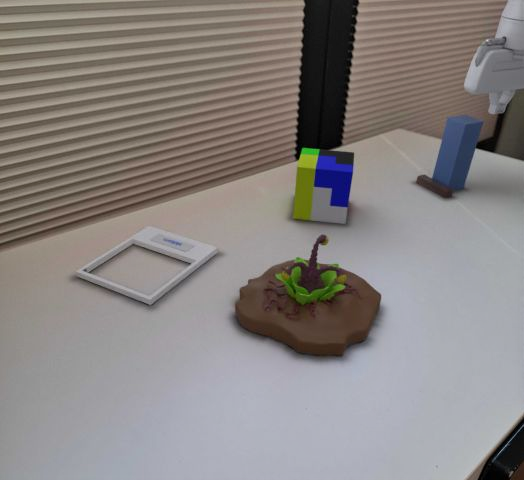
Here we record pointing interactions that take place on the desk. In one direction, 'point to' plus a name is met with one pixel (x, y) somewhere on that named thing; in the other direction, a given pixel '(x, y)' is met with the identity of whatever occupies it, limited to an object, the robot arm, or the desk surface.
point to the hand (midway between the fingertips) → (495, 113)
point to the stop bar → (435, 186)
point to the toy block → (457, 150)
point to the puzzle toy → (323, 185)
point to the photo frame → (159, 243)
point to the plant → (309, 305)
